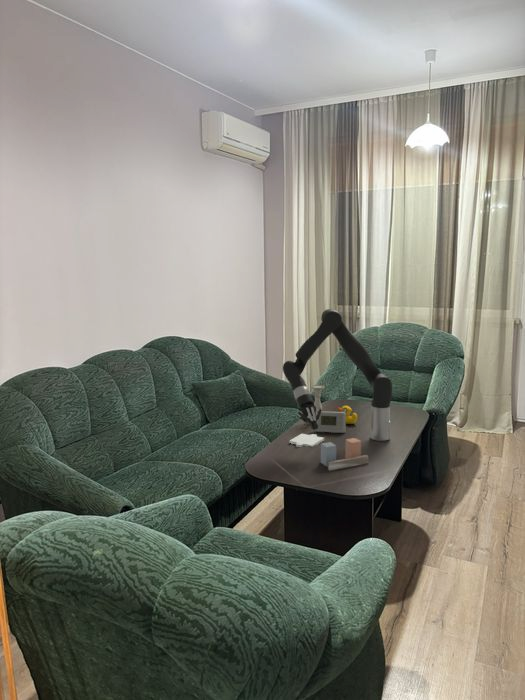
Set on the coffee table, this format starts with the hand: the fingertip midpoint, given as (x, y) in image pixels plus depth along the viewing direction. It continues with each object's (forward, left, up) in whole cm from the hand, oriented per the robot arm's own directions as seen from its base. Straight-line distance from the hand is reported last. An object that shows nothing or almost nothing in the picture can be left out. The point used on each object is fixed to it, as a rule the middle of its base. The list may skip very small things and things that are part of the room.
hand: (315, 429), depth 250 cm
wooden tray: (-10, +9, -13) cm, 19 cm away
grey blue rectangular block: (-4, +11, -13) cm, 17 cm away
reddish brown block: (-16, +7, -13) cm, 22 cm away
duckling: (-26, -48, -14) cm, 56 cm away
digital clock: (-14, -35, -14) cm, 40 cm away
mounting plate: (+1, -20, -14) cm, 24 cm away
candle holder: (-10, -54, -14) cm, 56 cm away
